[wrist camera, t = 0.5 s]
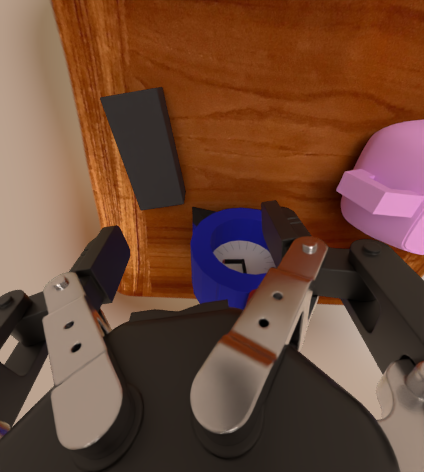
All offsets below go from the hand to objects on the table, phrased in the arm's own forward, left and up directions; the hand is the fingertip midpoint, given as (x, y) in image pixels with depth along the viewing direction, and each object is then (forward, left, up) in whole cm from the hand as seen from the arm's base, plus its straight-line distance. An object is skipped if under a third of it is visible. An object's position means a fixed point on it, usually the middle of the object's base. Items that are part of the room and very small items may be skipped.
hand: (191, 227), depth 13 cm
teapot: (+6, +23, -16) cm, 29 cm away
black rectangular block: (-1, -5, -16) cm, 16 cm away
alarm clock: (+13, +3, -16) cm, 21 cm away
